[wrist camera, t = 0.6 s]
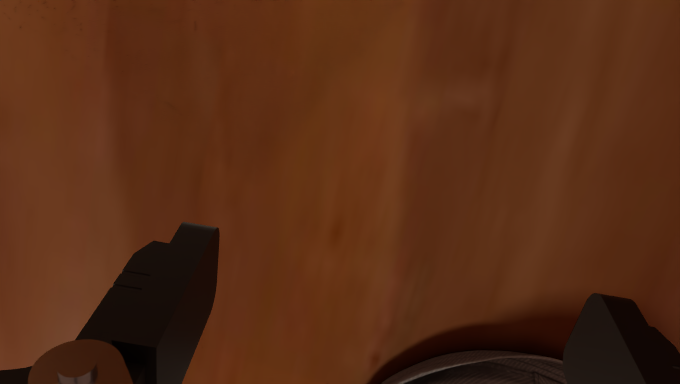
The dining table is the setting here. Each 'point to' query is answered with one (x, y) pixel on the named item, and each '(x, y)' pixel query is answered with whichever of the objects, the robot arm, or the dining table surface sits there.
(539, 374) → the fedora
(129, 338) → the robot arm
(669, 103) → the dining table surface
